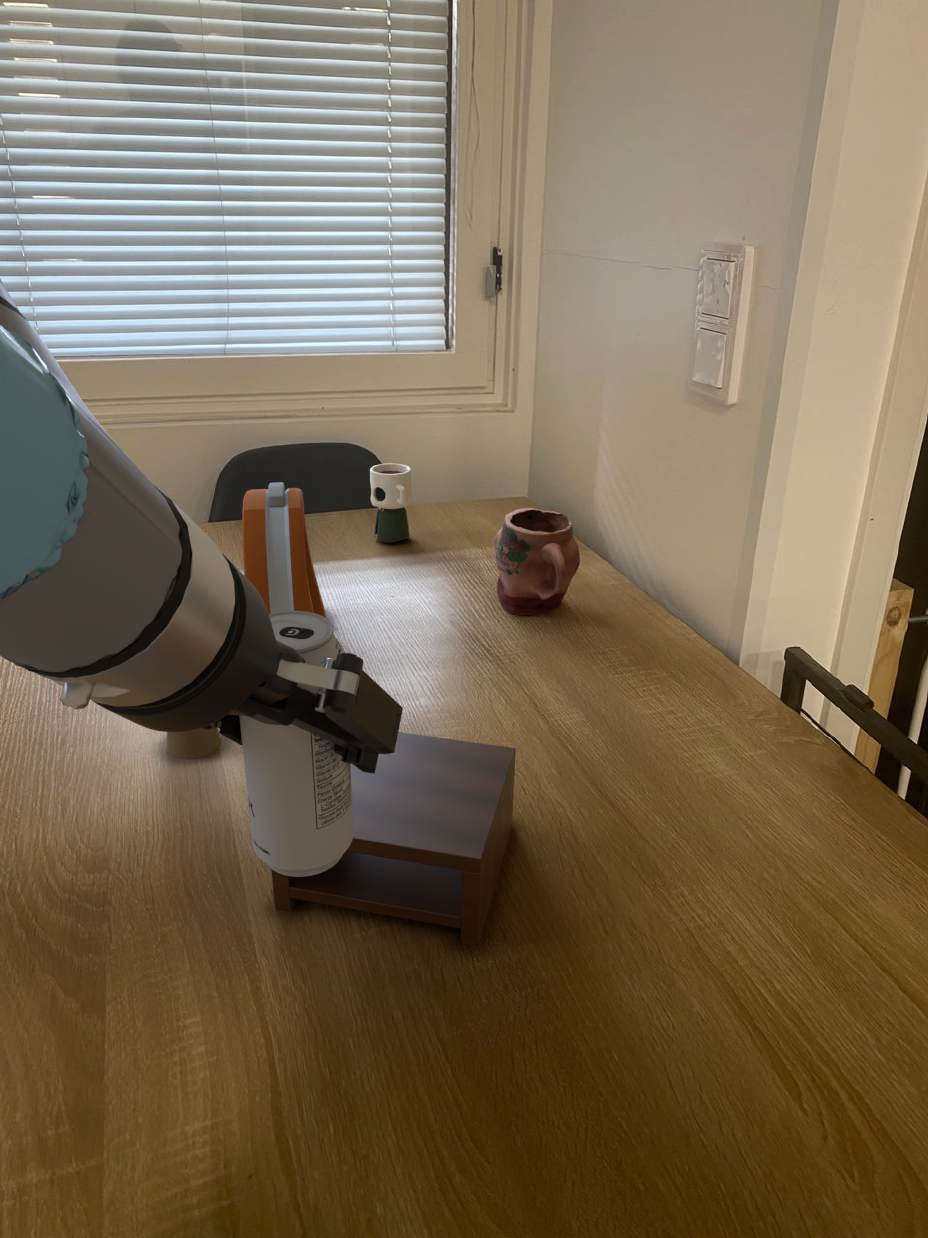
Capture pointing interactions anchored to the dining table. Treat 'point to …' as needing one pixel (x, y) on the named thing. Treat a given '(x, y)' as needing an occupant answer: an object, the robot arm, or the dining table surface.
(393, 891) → the shelf
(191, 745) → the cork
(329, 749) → the energy drink can
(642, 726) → the dining table surface
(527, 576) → the pink ceramic mug
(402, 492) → the character mug
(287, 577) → the alarm clock
